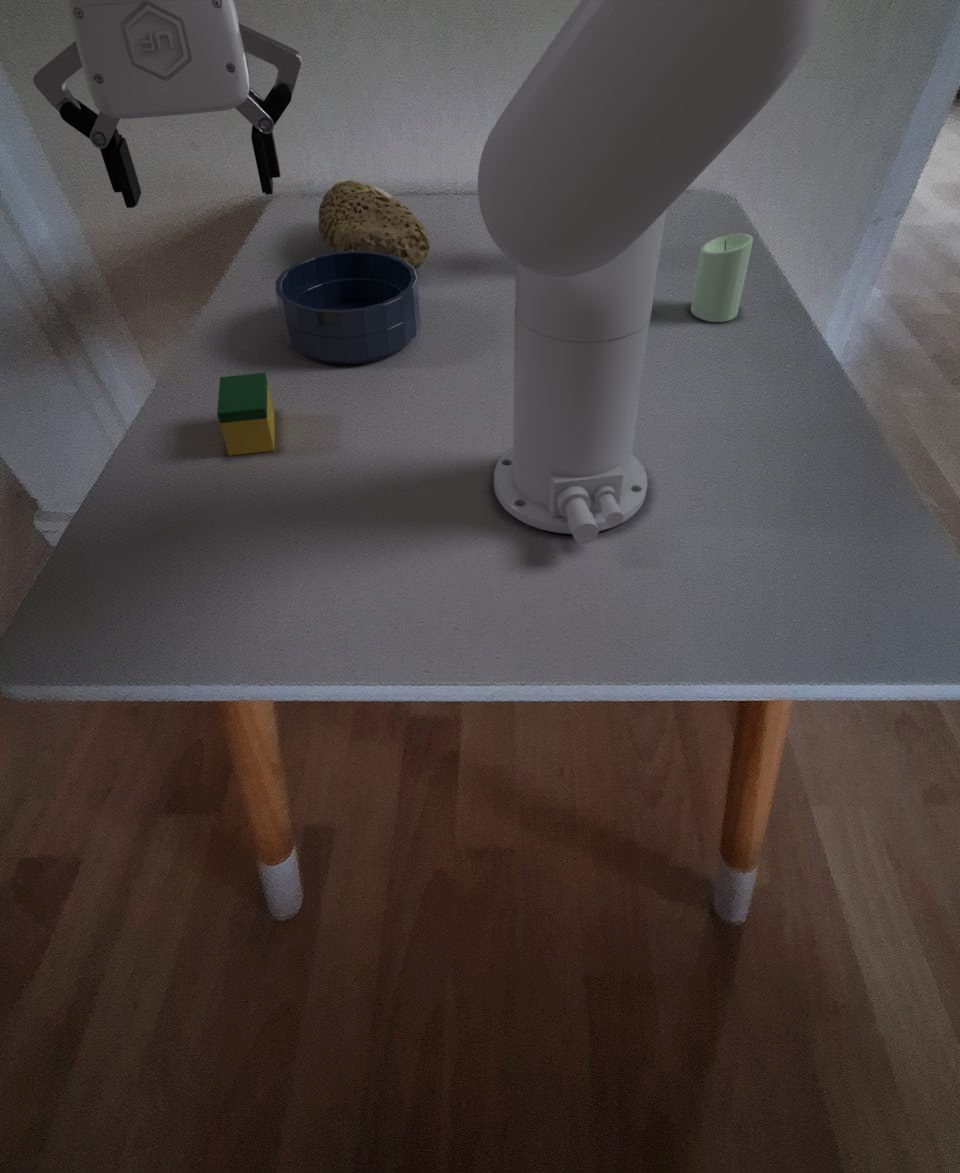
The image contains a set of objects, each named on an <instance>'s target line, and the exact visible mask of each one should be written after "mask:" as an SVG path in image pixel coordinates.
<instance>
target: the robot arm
mask: <svg viewBox="0 0 960 1173" xmlns="http://www.w3.org/2000/svg"><path fill="white" fill-rule="evenodd" d="M828 1H829V0H579V2H578V3H577V5H576V6H575V8H574V9H573V11H572V12H571V13H570V14H569V16H568V18H567V19H566V21H565V22H564V24H562V27H561V28H560V29H559V30H558V32H557V33H556V35H554V38H553V39H552V41H550V43H549V45H548V46H547V48H546V49H545V51H544V52H543V54H542V55H541V56H540V58H538V60H537V62H536V63H535V65H534V66H533V68H532V69H531V70H530V72H529V73H528V74H527V76H526V77H525V79H524V81H522V83H521V85H520V86H519V88H518V89H517V90H516V92H515V93H514V95H513V96H512V97H511V99H510V100H509V101H508V103H507V105H506V106H505V108H504V109H502V112H501V113H500V115H498V117H497V119H496V120H495V122H494V123H493V125H492V127H491V129H490V130H489V133H488V135H487V137H486V140H485V142H484V145H483V147H482V150H481V151H482V152H481V154H480V159H479V164H478V171H477V197H478V204H479V208H480V209H479V210H480V213H481V215H482V220H483V222H484V225H485V227H486V230H487V232H488V233H489V235H490V238H491V239H492V240H493V242H494V244H495V245H496V246H497V247H498V249H499V250H500V252H502V253H503V254H504V255H505V256H506V258H508V260H511V261H512V262H513V263H514V264H515V267H516V268H515V294H514V299H515V300H514V325H513V326H514V331H513V333H514V334H513V335H514V336H513V340H514V341H513V404H512V406H513V407H512V408H513V409H512V413H513V414H512V447H511V448H509V449H508V450H507V451H505V453H504V454H502V455H501V457H500V458H499V460H497V462H496V465H495V468H494V471H493V488H494V494H495V496H496V499H497V500H498V503H499V504H500V505H501V506H502V507H503V509H504V510H505V511H506V512H507V513H509V514H510V515H511V516H512V517H513V518H514V519H517V520H519V521H521V522H522V523H524V524H526V525H528V526H530V527H533V528H536V529H538V530H543V531H547V532H551V533H555V534H556V533H557V534H566V535H567V534H568V535H572V538H573V539H574V541H575V542H577V543H579V544H589V543H592V542H593V541H595V539H597V538H598V535H599V533H600V532H602V531H606V530H608V529H612V528H615V527H617V526H620V525H621V524H622V523H625V522H626V521H628V520H629V519H630V518H631V517H633V516H634V515H636V514H637V512H639V509H640V508H641V507H642V506H643V504H644V501H645V499H646V496H647V489H648V475H647V472H646V469H645V467H644V465H643V464H642V462H641V461H640V460H639V458H637V457H636V456H635V455H634V454H633V449H634V441H635V436H636V435H635V433H636V426H637V420H638V419H637V418H638V411H639V405H640V404H639V403H640V396H641V390H642V383H643V382H642V380H643V374H644V367H645V360H646V351H647V345H648V338H649V336H648V335H649V329H650V323H651V318H652V311H653V304H654V298H655V289H656V283H657V276H658V269H659V268H658V267H659V261H660V255H661V250H662V241H663V237H664V236H663V235H664V230H665V224H666V218H667V214H668V208H670V207H671V205H672V204H673V203H675V201H677V199H678V198H679V197H680V196H681V195H682V194H683V193H684V192H685V191H686V190H687V189H688V188H689V187H690V186H691V185H692V184H693V183H694V181H695V180H696V179H697V178H698V177H699V176H700V175H701V174H703V172H704V171H705V170H706V169H707V168H708V167H709V166H710V165H711V164H712V163H713V162H714V161H715V159H716V158H718V157H719V155H720V154H721V153H722V152H724V150H725V149H726V148H727V147H728V146H729V145H730V144H731V143H732V142H733V141H734V140H735V138H736V137H738V136H739V134H741V132H742V131H743V130H744V129H745V128H746V127H747V126H748V125H749V124H750V123H751V121H753V119H754V118H756V117H757V115H758V114H759V113H760V112H761V111H762V109H764V108H765V106H767V104H768V103H769V102H770V101H771V100H772V98H774V97H775V95H776V93H777V92H778V91H779V90H780V88H781V87H782V86H783V85H784V84H785V82H786V81H787V80H788V79H789V77H790V76H791V75H792V74H793V72H794V71H795V69H796V68H797V67H798V65H799V64H800V62H801V61H802V59H803V57H804V56H805V54H806V53H807V51H808V49H809V47H810V45H811V44H812V42H813V40H814V38H815V37H816V34H817V32H818V30H819V28H820V26H821V23H822V19H823V17H824V14H825V12H826V8H827V5H828ZM65 3H66V8H67V12H68V16H69V20H70V24H71V29H72V32H73V36H74V41H73V42H72V43H70V44H69V45H68V46H67V47H66V48H64V49H63V50H62V51H60V52H59V53H58V54H57V55H56V56H54V57H53V58H52V59H50V61H48V62H47V63H46V64H44V65H43V66H42V67H41V68H40V69H39V70H38V71H37V72H36V73H35V74H34V76H33V77H32V82H33V85H34V86H35V87H36V89H37V90H38V91H39V92H40V93H41V94H42V96H44V98H45V99H46V101H48V102H49V104H50V105H51V106H52V107H53V108H54V109H55V110H56V111H57V112H58V113H59V115H60V118H61V119H62V120H63V121H64V122H65V123H67V124H68V125H69V126H71V127H72V128H73V129H75V130H76V131H78V132H79V133H80V134H82V135H83V136H84V137H85V138H87V139H89V140H90V143H91V145H93V146H94V147H95V148H98V149H99V151H100V153H101V157H102V160H103V163H104V166H105V169H106V172H107V175H108V179H109V181H110V184H111V188H112V191H113V192H114V193H121V195H122V198H123V201H124V204H125V207H126V208H127V209H132V208H133V209H134V208H136V206H138V205H139V202H140V199H141V196H142V189H141V186H140V181H139V178H138V175H137V173H136V169H135V166H134V161H133V158H132V155H131V153H130V152H131V151H130V148H129V146H128V142H127V138H126V137H123V134H120V133H119V129H118V128H117V126H118V124H119V122H120V120H121V119H123V120H125V119H127V120H128V119H129V120H130V119H131V120H132V119H145V118H146V119H147V118H158V117H169V116H181V115H191V114H192V115H194V114H203V113H204V114H205V113H214V112H223V111H228V110H232V109H235V110H236V111H238V112H239V113H240V114H241V115H242V116H243V117H244V118H245V120H247V121H248V122H249V123H250V124H251V125H252V126H251V135H250V136H251V137H250V139H251V143H252V144H251V145H252V149H253V154H254V159H255V164H256V168H257V173H258V178H259V183H260V188H261V192H262V194H264V195H266V196H269V195H274V179H275V178H281V168H280V162H279V159H278V152H277V146H276V141H275V137H274V136H275V135H274V128H275V126H276V125H277V123H278V121H279V119H280V118H281V117H282V115H283V114H284V112H285V111H286V109H287V108H288V106H289V105H290V103H291V102H292V97H293V94H294V90H295V87H296V84H297V80H298V77H299V74H300V70H301V65H302V57H301V54H300V52H299V51H298V50H296V49H295V48H293V47H291V46H289V45H287V44H284V43H283V42H280V41H278V40H275V39H274V38H272V37H269V36H268V35H266V34H263V33H261V32H259V31H256V30H255V29H253V28H250V27H248V26H246V25H244V24H242V23H240V20H239V17H238V16H239V15H238V12H237V9H236V5H235V0H65ZM247 54H249V55H250V56H253V57H255V58H258V59H260V60H261V61H264V62H266V63H268V64H270V65H272V66H274V67H275V68H276V69H277V74H276V77H275V82H274V85H273V86H272V88H271V89H270V90H269V92H268V93H267V95H266V97H265V98H264V99H263V97H262V96H260V94H259V93H257V92H256V91H255V90H254V88H252V86H251V85H250V68H249V61H248V57H247V56H248V55H247ZM81 69H82V71H83V74H84V79H85V81H86V84H87V88H88V91H89V94H90V96H91V99H92V102H93V104H94V106H95V107H96V108H97V110H98V113H96V112H95V111H94V110H92V109H91V108H89V107H88V106H87V105H86V104H84V103H83V102H81V101H80V100H79V99H78V98H75V96H74V95H73V94H72V93H71V92H72V91H71V90H70V89H69V88H68V87H67V84H66V81H67V80H68V79H69V78H71V77H72V76H73V75H74V74H75V73H77V72H78V71H80V70H81Z"/></svg>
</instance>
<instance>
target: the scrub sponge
mask: <svg viewBox="0 0 960 1173" xmlns="http://www.w3.org/2000/svg"><path fill="white" fill-rule="evenodd" d="M218 388H219V389H218V400H217V410H216V414H217V418H218V421H219V425H220V429H221V433H222V436H223V440H224V444H225V447H226V451H227V454H228V457H230V456H232V457H233V456H239V455H248V454H257V453H266V452H274V451H275V450H276V448H275V447H276V446H275V444H276V443H275V436H276V435H275V411H274V410H275V409H274V406H273V401H272V397H271V396H272V395H271V392H270V387H269V383H268V378H267V373H266V372H257V373H249V374H247V373H246V374H238V375H230V376H221V377H219V387H218Z"/></svg>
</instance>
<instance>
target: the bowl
mask: <svg viewBox="0 0 960 1173" xmlns="http://www.w3.org/2000/svg"><path fill="white" fill-rule="evenodd" d="M275 296H276V301H277V306H278V311H279V316H280V320H281V327H282V331H283V336H284V339H285V341H286V342H287V343H288V345H289V346H290V347H291V349H293V350H294V351H297V352H298V353H299V354H300V355H302V356H303V357H305V358H307V359H309V360H310V361H311V360H312V361H315V362H317V363H321V364H326V365H327V364H328V365H335V366H336V365H337V366H354V365H364V364H369V363H374V362H377V361H381V360H384V359H387V358H389V357H392V356H394V355H396V354H398V353H399V352H402V351H403V350H404V349H405V348H406V347H407V346H408V345H409V344H410V342H411V341H412V340H414V338H416V337H417V335H418V332H419V330H420V328H421V314H420V313H421V310H420V299H419V298H420V297H419V284H418V276H417V272H416V268H415V269H414V268H413V267H412V266H411V265H410V264H408V263H407V262H406V261H405V260H402V259H400V258H398V257H395V256H393V255H390V254H385V253H380V252H375V251H354V250H353V251H341V252H333V251H331V252H326V253H322V254H318V255H314V256H310V257H308V258H305V259H303V260H300V261H297V262H295V263H293V264H292V265H290V266H289V267H287V268H286V269H284V270H283V271H282V272H281V273H280V275H279V276H278V277H277V279H276V280H275Z"/></svg>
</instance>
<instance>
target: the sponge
mask: <svg viewBox="0 0 960 1173" xmlns="http://www.w3.org/2000/svg"><path fill="white" fill-rule="evenodd" d="M394 198H395V197H394V195H393V194H391V193H389V192H387V191H385V190H384V189H382V188H380V187H378V186H377V185H372V184H369V183H361V182H360V181H355V180H353V179H349V180H345V181H343V180H341V181H338V182H336V183H335V184H334V185H333V186H332V187H331V188H330V189H329V190H327V192H326V193H325V194H324V196H323V197H322V201H321V203H320V205H319V208H318V231H319V234H320V237H321V239H322V241H323V242H324V243H325V245H326V246H327V247H328V248H329V249H330V250H331V252H341V251H353V250H354V251H375V252H380V253H385V254H390V255H393V256H395V257H398V258H400V259H402V260H405V261H406V262H407V263H408V264H410V265H411V266H412V267H413V268H414V269H415V270H416V269H417V268H419V267H420V266H421V265H422V264H424V262H425V261H426V258H427V257H428V255H429V251H430V248H431V241H430V238H429V236H428V233H427V230H426V227H425V226H424V225H423V223H422V222H421V221H420V220H419V219H418V218H417V217H416V215H414V213H413V211H412V210H411V209H409V207H407V206H405V205H403V204H402V202H401V201H399V200H396V199H394Z"/></svg>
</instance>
